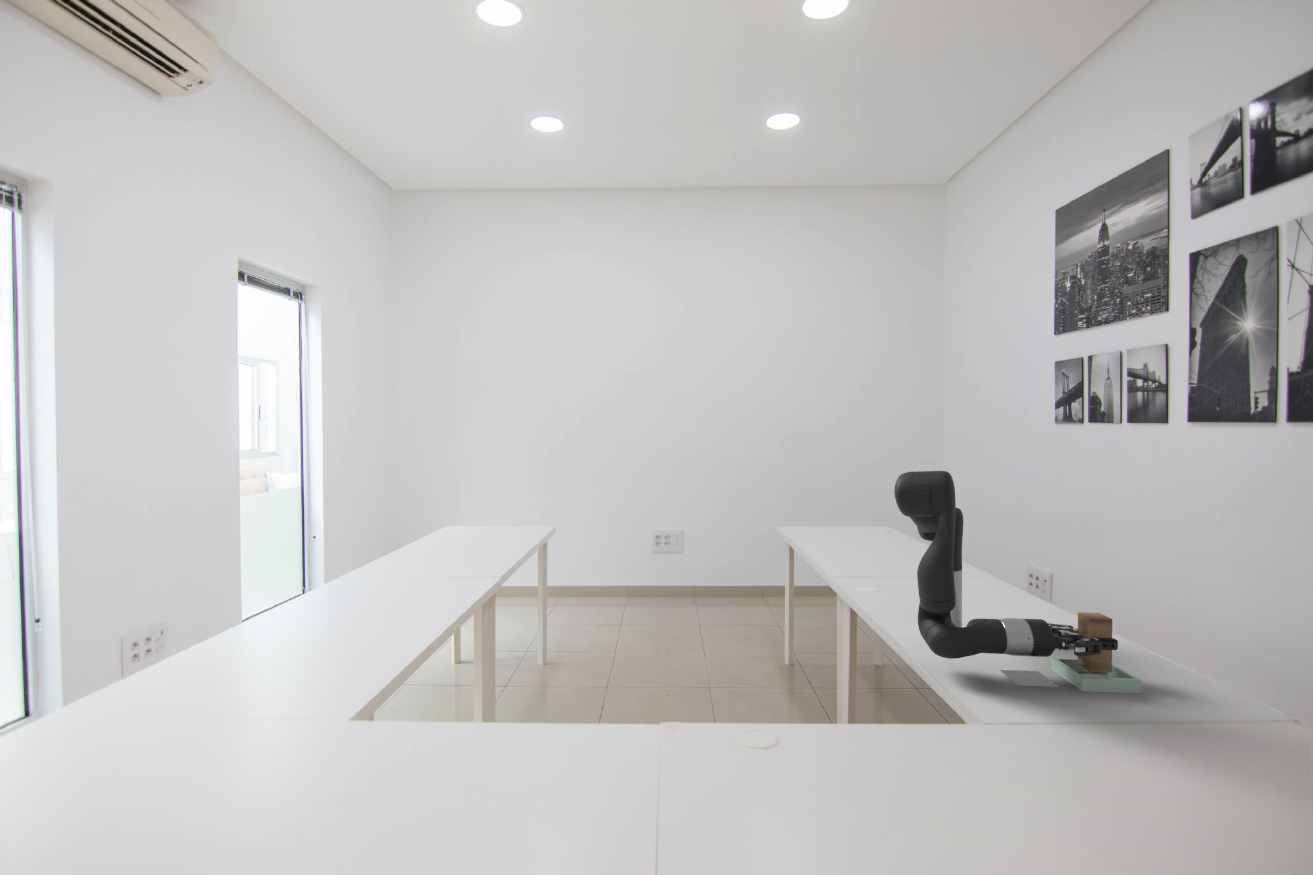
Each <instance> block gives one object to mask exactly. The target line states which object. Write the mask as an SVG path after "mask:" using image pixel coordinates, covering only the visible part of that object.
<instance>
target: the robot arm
mask: <svg viewBox="0 0 1313 875" xmlns="http://www.w3.org/2000/svg"><path fill="white" fill-rule="evenodd" d="M955 490H956V489H955V482H954V480H953V477H952V474H951V473H950V472H949V471H946V470H924V471H923V470H922V471H921V470H920V471H907V472H903V473H901V474H900V475H899V476H898V477H897V479H896V481H895V484H894V500H895V502H896V506H897V508H898V510H899V512H901V514H902V515H903V516H906V517H907V518H910V519H911V521H912V522H913V523H914V525H916V528H917V532H918V535H919V537H920V538H921V539H923V540H924V541H929V542H931V543H930V545H929V547H927V550H926V551H925V552H924V554H923V556H922V557H921V559H920V561H919V564H918V568H917V576H916V578H917V588H918V599H919V604H918V609H917V610H918V611H917V624H918V630H919V633H920V636H921V638H922V639H923V640H924V642H925V643H926V644H927V646H928V647H929V649H930V651H931V652H932V653H933V654H934V655H936V656H938V657H940V658H945V659H961V658H967V657H970V656H971V657H972V656H976V655H979V654H995V655H996V654H997V655H1007V656H1014V657H1035V658H1036V657H1037V658H1038V657H1039V658H1040V657H1041V658H1047V657H1050V656H1051V655H1052V654H1053V653H1054V651H1055V650H1056V649H1057V650H1059V651H1061V652H1069V651H1071V652H1073V655H1074V656H1076V657H1078V656H1086V655H1097V654H1101V650H1112V651H1117V650H1118V649H1119V640H1117V639H1116V638H1113V637H1112V638H1096V637H1086V636H1084V635H1083V634H1081V633H1078V627H1076V628H1075V627H1074V626H1073V625H1068V624H1058V623H1049V622H1047V621H1046V620H1044V619H1041V618H1012V617H1011V618H1010V617H1008V618H972V619H970V620H969V621H968V622H967V624H966V626H965V627H964V626H963V539H964V538H963V535H964V514H963V511H962V510H961V508H959V507H957V506H956V505H957V504H956V503H957V502H956V491H955ZM1078 637H1079V638H1080V641H1078Z"/></svg>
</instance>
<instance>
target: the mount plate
mask: <svg viewBox="0 0 1313 875" xmlns="http://www.w3.org/2000/svg"><path fill="white" fill-rule="evenodd" d="M999 671H1000V672H1001V673H1002V674H1004V676H1006V677H1007V678H1008V679H1010V680H1011V681H1012V682H1013V683H1014V684H1015V685H1016V686H1018V687H1044V688H1060V686H1059V685H1057V684H1056V683H1055V682H1053V681H1052V680H1051V679H1049V678H1048V677H1047V676H1045V675H1044V674H1043V673H1041V671H1039V670H1018V669H1017V670H1016V669H1015V670H1014V669H1013V670H1012V669H1000V670H999Z"/></svg>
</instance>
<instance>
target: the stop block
mask: <svg viewBox="0 0 1313 875" xmlns="http://www.w3.org/2000/svg"><path fill="white" fill-rule="evenodd" d="M1077 628H1078V633H1081V634H1083V635H1084V636H1086V637H1096V638H1113V618H1111V617H1108V616H1106V615H1104V614H1102V613H1101V612H1077ZM1078 641H1080V638H1079V637H1078ZM1077 658H1078V665H1080V666H1081V667H1083V668H1084V669H1086V670H1088V671H1089V672H1088V673H1104V674H1106V673H1112V663H1113V650H1101V654H1097V655H1086V656H1077Z"/></svg>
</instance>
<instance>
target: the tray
mask: <svg viewBox="0 0 1313 875" xmlns="http://www.w3.org/2000/svg"><path fill="white" fill-rule="evenodd" d="M1050 667H1051V670H1052V671H1053V672H1055V673H1056V674H1058V675H1059V676H1060V677H1062V678H1063V679H1065V680H1066V681H1067V682H1069V683H1070V684H1071V685H1073V686H1075V687H1076V688H1077V689H1079V690H1080V691H1082V692H1095V693H1098V692H1100V693H1103V692H1104V693H1121V694H1122V693H1128V694H1142V680H1141V679H1140V678H1138V677H1137V676H1135V675H1133V674H1131V673H1130V672H1128V671H1126V670H1124V669H1123V668H1121V667H1119V666H1118V665H1116V664H1115V663H1113V662H1112V673H1105V674H1106V675H1107V676H1109V677H1099V676H1098V677H1097V676H1095V677H1094V676H1084V675H1082V674H1080V672H1084V673H1085V672H1087V673H1090V672H1089V671H1088V670H1086V669H1084V668H1083V667H1081V666H1080V665H1078V657H1076V658H1075V657H1051V665H1050Z"/></svg>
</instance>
